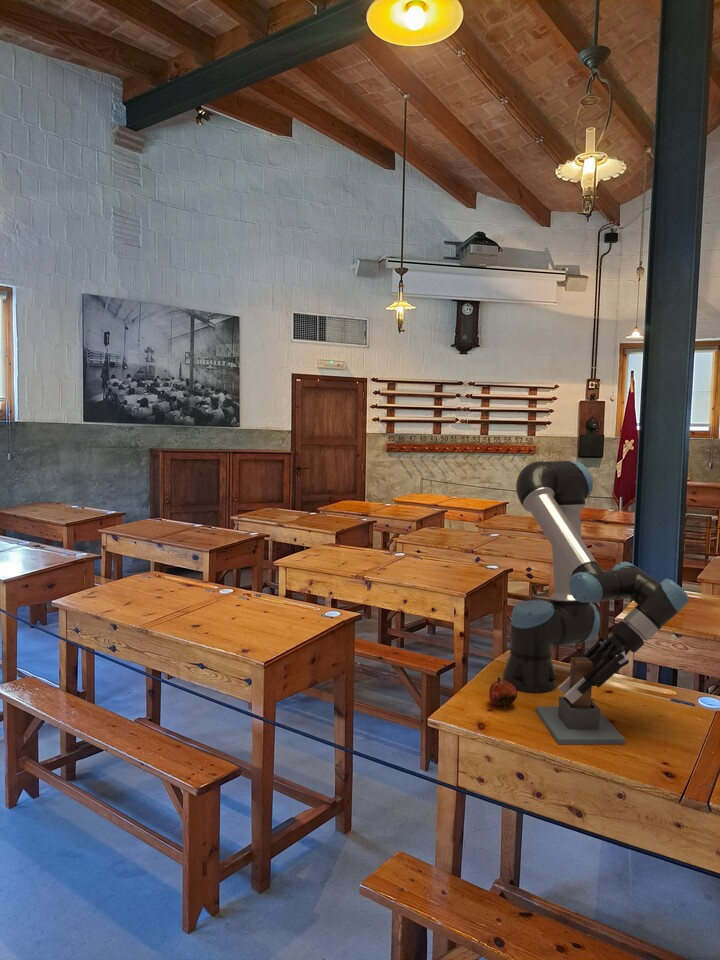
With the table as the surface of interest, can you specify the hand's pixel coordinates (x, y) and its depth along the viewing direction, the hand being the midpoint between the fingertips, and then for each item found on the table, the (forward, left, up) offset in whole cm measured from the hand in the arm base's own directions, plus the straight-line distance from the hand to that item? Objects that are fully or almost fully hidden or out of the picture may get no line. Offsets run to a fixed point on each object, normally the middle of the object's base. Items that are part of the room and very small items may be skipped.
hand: (565, 695), depth 166 cm
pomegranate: (-12, -12, -8) cm, 19 cm away
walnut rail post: (0, +4, -5) cm, 6 cm away
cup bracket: (0, +4, -8) cm, 9 cm away
